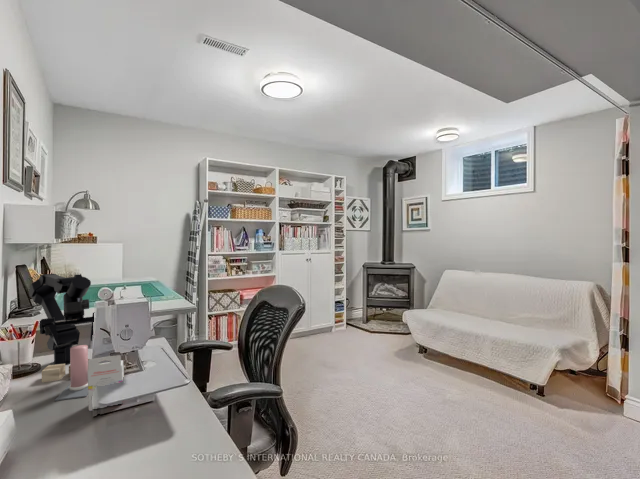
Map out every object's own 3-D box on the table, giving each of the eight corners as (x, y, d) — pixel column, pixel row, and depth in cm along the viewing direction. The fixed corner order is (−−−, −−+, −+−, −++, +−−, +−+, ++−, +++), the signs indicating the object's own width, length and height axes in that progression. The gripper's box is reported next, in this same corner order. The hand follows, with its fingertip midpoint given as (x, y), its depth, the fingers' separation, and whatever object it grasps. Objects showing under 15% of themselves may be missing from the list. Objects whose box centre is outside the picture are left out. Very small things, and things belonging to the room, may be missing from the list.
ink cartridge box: (124, 397, 101) (124, 349, 101) (122, 404, 97) (122, 355, 97) (91, 403, 98) (90, 354, 98) (87, 411, 93) (86, 360, 93)
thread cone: (73, 384, 109) (72, 345, 109) (91, 382, 111) (91, 343, 110) (66, 391, 104) (66, 350, 104) (85, 389, 106) (85, 348, 105)
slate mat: (73, 381, 113) (73, 379, 113) (100, 377, 115) (100, 376, 115) (54, 401, 99) (54, 399, 99) (86, 396, 102) (86, 395, 102)
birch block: (48, 376, 117) (48, 365, 117) (65, 374, 118) (65, 363, 118) (41, 382, 112) (41, 371, 112) (59, 380, 114) (59, 369, 113)
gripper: (39, 295, 111) (38, 336, 103) (105, 289, 123) (109, 325, 115) (40, 314, 118) (39, 354, 109) (103, 306, 129) (106, 342, 121)
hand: (75, 343), depth 113 cm, fingers open, 9 cm apart
